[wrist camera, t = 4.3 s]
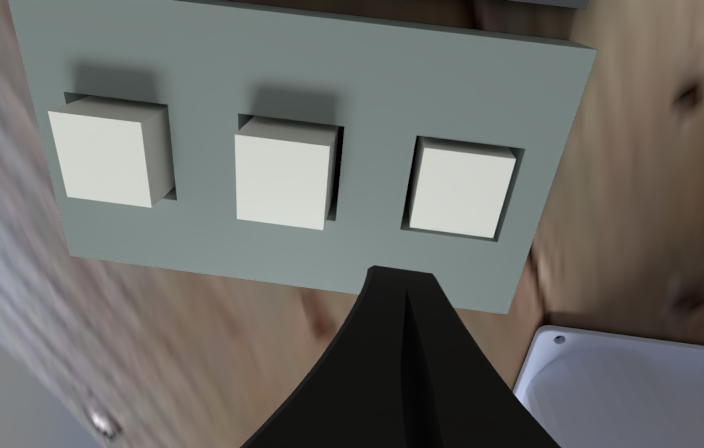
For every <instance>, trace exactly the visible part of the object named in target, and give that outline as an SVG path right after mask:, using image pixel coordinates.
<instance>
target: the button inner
mask: <svg viewBox="0 0 704 448" xmlns="http://www.w3.org/2000/svg"><path fill="white" fill-rule="evenodd" d="M515 161H516V158H515V157H514V156H513V154H512V153H511V151H510V150H509V148H508V147H507V146H499V145H490V144H482V143H474V142H466V141H458V140H450V139H442V138H434V137H426V136H419V139H418V145H417V151H416V156H415V162H414V168H413V173H412V179H411V184H410V190H409V196H408V205H409V224H410V227H412V228H419V229H427V230H435V231H443V232H450V233H458V234H466V235H473V236H481V237H489V238H493V236H494V233H495V229H496V226H497V223H498V219H499V216H500V212H501V209H502V205H503V202H504V199H505V195H506V192H507V188H508V185H509V182H510V178H511V175H512V171H513V168H514V164H515Z"/></svg>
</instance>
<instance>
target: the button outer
mask: <svg viewBox="0 0 704 448" xmlns="http://www.w3.org/2000/svg"><path fill="white" fill-rule="evenodd" d="M48 114H49V119H50V123H51V127H52V132H53V136H54V141H55V145H56V149H57V154H58V158H59V163H60V167H61V171H62V176H63V180H64V185H65V189H66V193H67V197H73V198H80V199H88V200H96V201H103V202H111V203H119V204H126V205H134V206H142V207H149V208H152V207H153V206H154V205H155V204H156V203H157V202H159V201H160V200H161V199H162V198H163V197H164V196H165V195H166V194H167V193H168V192H169V191H171V190H172V189H173V188H174V187H175V186H176V185H175V174H174V164H173V154H172V144H171V133H170V123H169V113H168V105H167V104H159V103H151V102H143V101H135V100H127V99H119V98H111V97H103V96H95V95H91V96H88V97H85V98H82V99H80V100H77V101H74V102H71V103H69V104H66V105H63V106H61V107H58V108H55V109H52V110H50V111H48Z"/></svg>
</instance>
